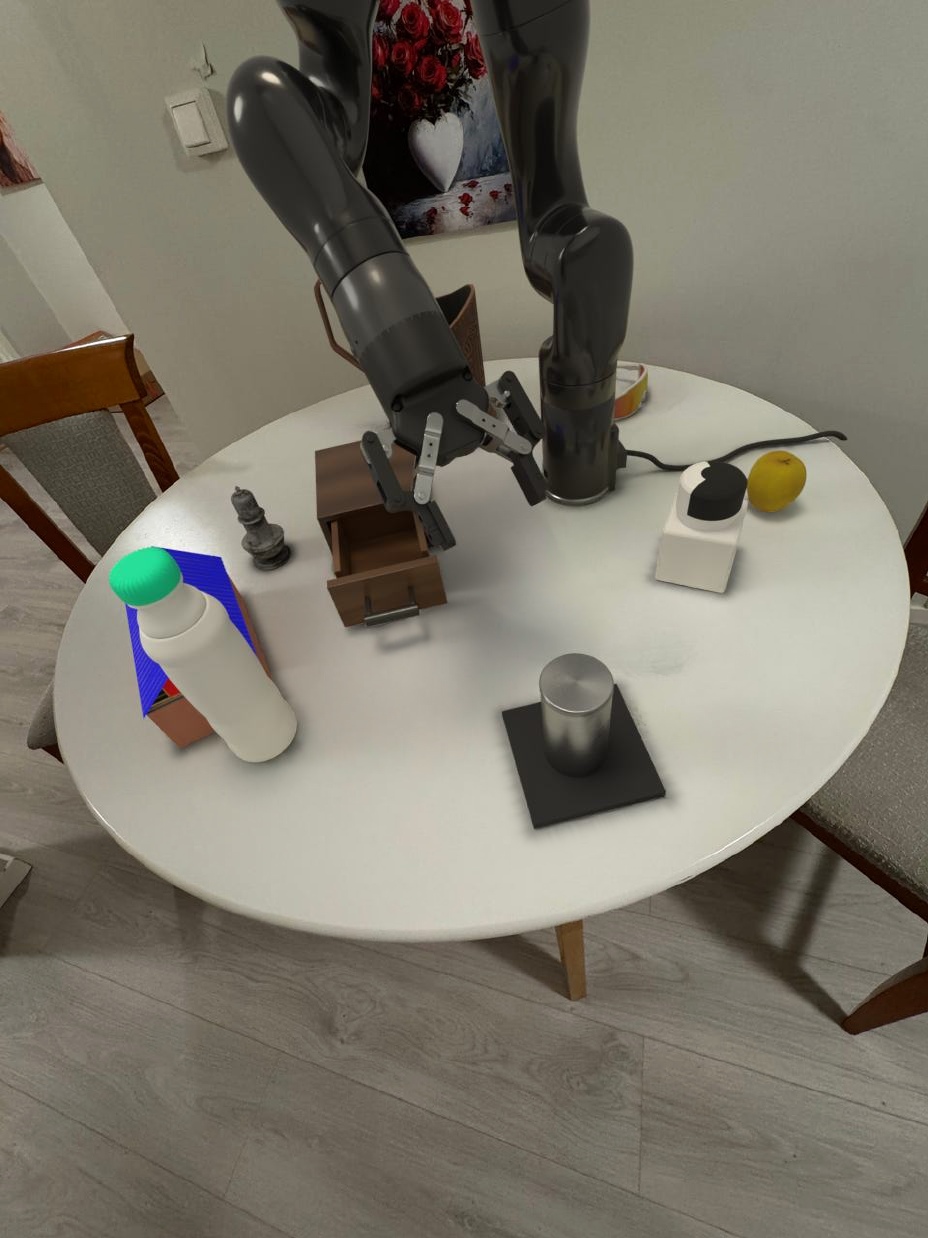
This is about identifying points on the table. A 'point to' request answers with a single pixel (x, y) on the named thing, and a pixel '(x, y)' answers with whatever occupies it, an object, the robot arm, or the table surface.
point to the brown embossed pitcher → (460, 319)
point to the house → (152, 680)
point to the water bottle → (204, 655)
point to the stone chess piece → (259, 532)
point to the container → (703, 527)
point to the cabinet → (353, 483)
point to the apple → (775, 481)
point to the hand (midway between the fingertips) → (495, 524)
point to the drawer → (382, 568)
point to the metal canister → (576, 713)
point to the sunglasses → (631, 392)
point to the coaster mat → (570, 798)
